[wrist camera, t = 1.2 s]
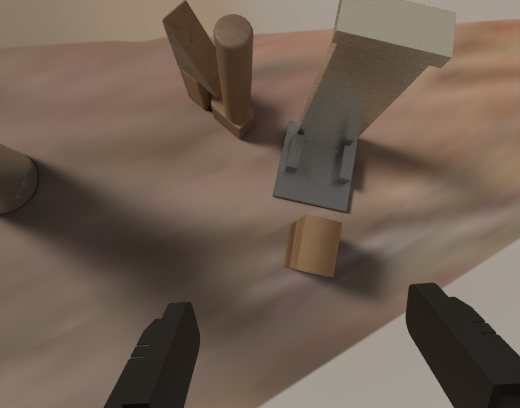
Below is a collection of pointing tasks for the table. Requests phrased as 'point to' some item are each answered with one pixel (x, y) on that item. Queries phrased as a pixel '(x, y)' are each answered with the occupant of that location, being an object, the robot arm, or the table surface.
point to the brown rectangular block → (313, 245)
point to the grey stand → (358, 92)
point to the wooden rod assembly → (215, 65)
